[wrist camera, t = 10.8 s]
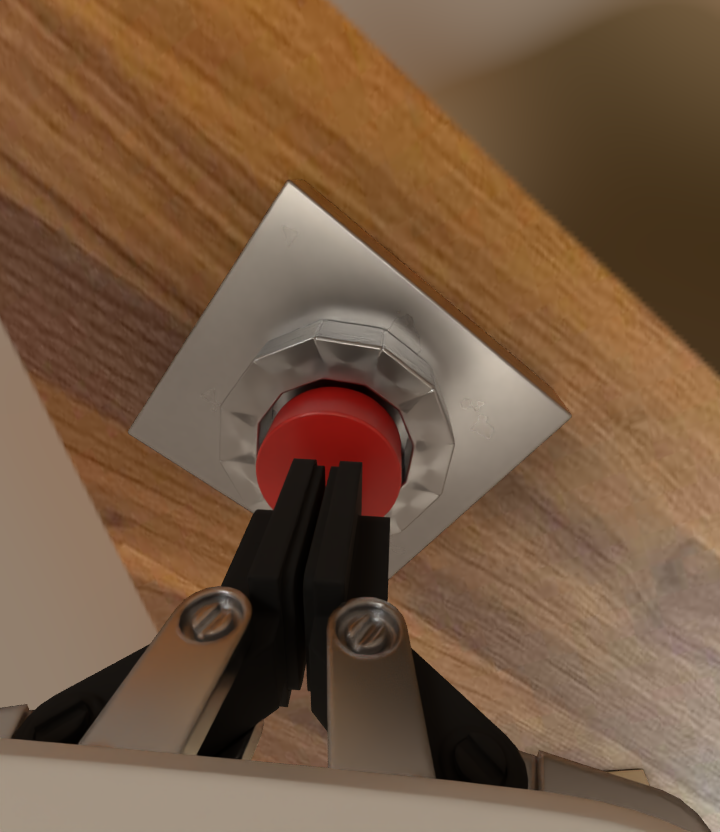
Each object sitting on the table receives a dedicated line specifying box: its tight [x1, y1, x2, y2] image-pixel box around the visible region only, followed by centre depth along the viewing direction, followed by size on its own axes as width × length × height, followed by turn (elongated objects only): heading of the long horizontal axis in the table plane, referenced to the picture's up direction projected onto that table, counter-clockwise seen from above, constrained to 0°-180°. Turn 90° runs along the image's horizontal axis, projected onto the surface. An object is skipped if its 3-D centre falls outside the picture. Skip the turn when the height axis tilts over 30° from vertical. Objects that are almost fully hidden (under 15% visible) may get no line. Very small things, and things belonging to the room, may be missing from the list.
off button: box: [256, 387, 402, 517], centre depth 14 cm, size 4×4×2 cm
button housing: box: [128, 179, 572, 580], centre depth 16 cm, size 11×10×4 cm
